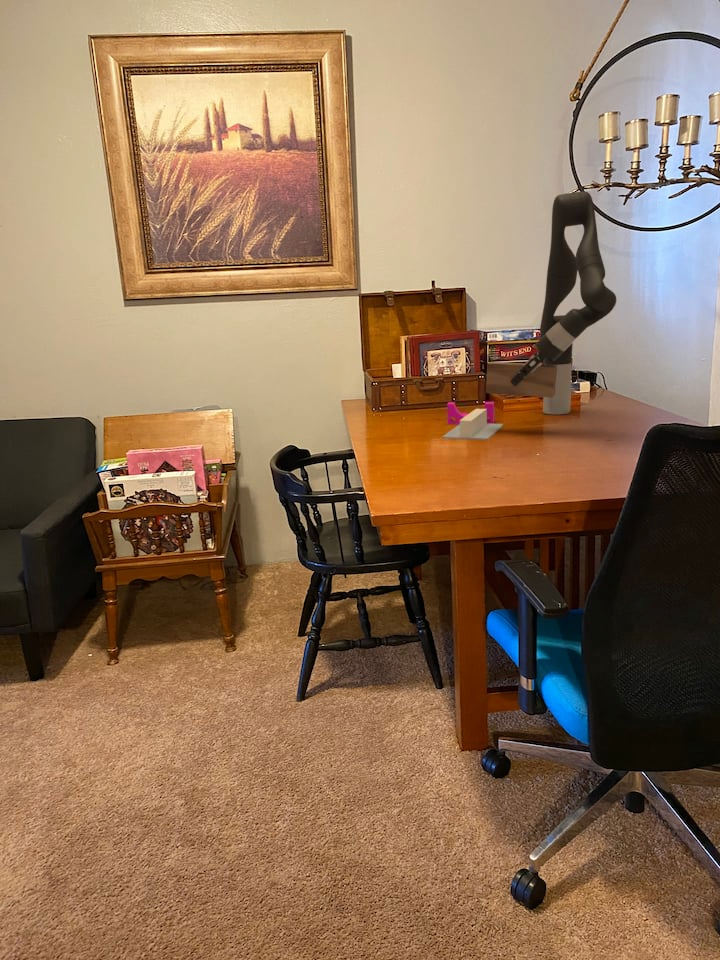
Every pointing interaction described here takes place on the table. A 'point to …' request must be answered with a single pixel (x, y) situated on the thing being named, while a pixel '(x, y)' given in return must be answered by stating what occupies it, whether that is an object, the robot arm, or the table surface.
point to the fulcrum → (474, 427)
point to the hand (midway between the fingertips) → (514, 382)
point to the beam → (532, 385)
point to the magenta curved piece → (455, 413)
